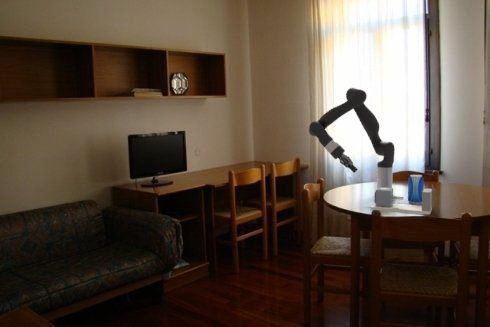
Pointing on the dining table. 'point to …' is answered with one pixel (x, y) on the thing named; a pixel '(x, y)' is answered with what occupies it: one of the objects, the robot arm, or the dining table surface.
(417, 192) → the beer can
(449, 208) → the dining table surface
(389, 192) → the gauge carriage
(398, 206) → the board
